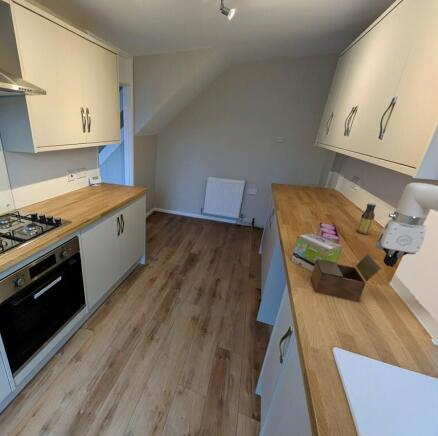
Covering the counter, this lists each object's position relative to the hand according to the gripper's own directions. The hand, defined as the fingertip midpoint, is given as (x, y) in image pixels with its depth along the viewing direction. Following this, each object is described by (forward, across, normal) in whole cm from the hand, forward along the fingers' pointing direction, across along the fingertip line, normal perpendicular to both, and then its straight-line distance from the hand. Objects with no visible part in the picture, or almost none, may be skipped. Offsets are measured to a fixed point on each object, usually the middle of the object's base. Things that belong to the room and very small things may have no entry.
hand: (388, 264), depth 88 cm
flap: (+2, -6, 0) cm, 6 cm away
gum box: (+16, -10, +37) cm, 41 cm away
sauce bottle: (+16, +20, +82) cm, 85 cm away
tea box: (+16, -18, +17) cm, 30 cm away
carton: (+16, -14, 0) cm, 21 cm away
